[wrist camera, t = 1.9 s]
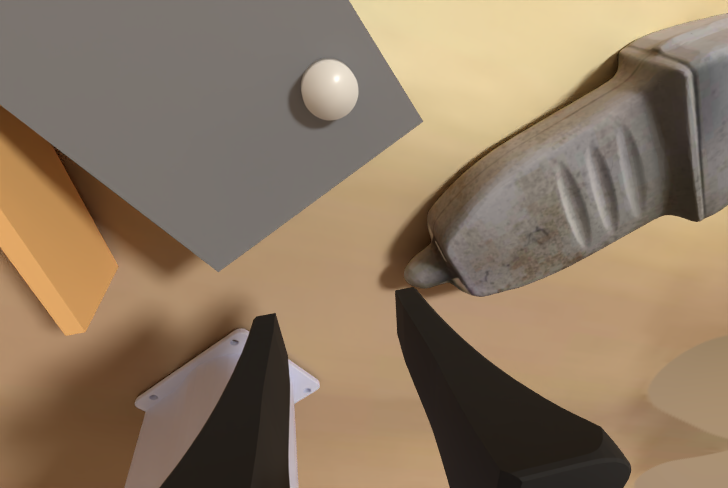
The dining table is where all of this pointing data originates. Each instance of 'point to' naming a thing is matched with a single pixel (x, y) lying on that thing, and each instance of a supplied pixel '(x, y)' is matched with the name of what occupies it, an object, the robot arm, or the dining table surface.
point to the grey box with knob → (204, 105)
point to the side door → (49, 229)
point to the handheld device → (591, 169)
